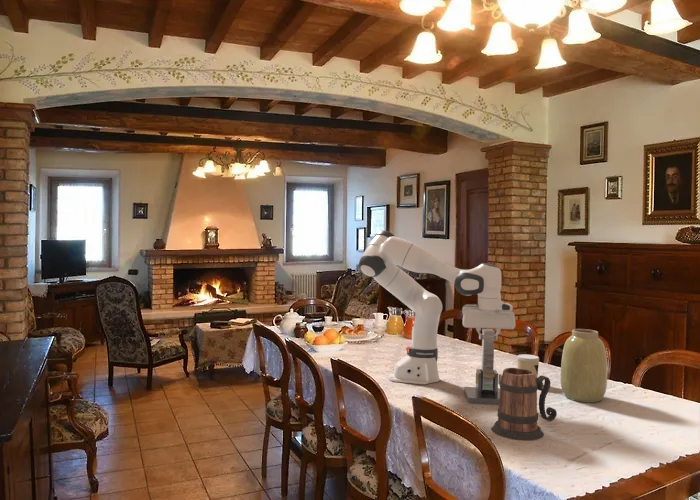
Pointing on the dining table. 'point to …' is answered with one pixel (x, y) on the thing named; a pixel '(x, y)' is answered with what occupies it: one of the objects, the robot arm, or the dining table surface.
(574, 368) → the vase
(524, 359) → the coffee cup
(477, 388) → the stand base
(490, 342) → the column
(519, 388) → the tankard
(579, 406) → the dining table surface
